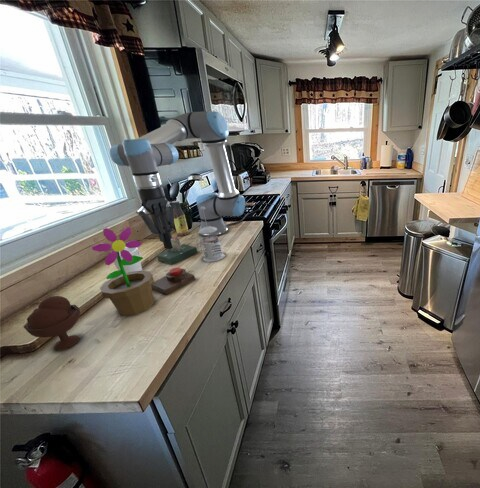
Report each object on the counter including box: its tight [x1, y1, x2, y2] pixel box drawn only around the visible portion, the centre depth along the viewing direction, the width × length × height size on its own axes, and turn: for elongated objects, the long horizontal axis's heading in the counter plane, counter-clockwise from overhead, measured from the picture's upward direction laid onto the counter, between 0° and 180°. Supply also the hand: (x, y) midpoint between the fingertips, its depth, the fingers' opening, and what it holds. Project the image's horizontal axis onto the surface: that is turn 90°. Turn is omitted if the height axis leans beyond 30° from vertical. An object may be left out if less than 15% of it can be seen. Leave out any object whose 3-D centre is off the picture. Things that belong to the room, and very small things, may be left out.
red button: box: [168, 267, 182, 276], centre depth 102 cm, size 4×4×2 cm
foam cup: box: [110, 247, 143, 273], centre depth 104 cm, size 10×9×13 cm
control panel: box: [156, 243, 199, 265], centre depth 125 cm, size 14×11×3 cm
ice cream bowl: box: [23, 295, 81, 352], centre depth 71 cm, size 11×11×15 cm
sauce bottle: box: [172, 200, 189, 237], centre depth 150 cm, size 6×6×20 cm
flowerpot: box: [91, 226, 155, 317], centre depth 84 cm, size 14×14×30 cm
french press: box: [196, 207, 226, 263], centre depth 118 cm, size 10×12×25 cm
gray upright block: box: [166, 236, 182, 253], centre depth 122 cm, size 6×2×7 cm, turn 77°
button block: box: [151, 268, 196, 296], centre depth 102 cm, size 12×10×4 cm
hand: (168, 248), depth 99 cm, fingers closed
